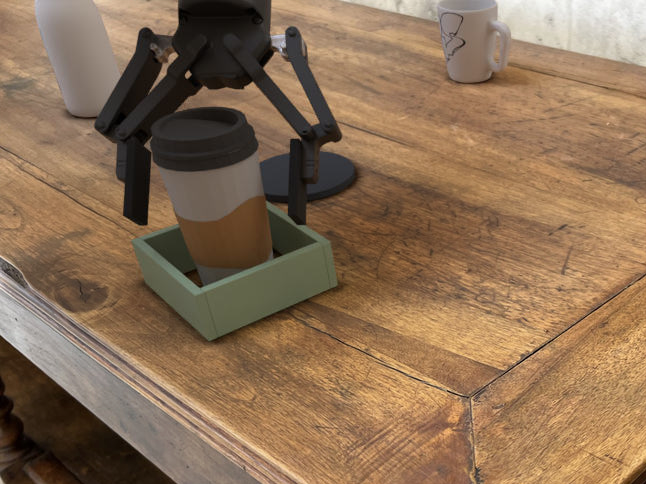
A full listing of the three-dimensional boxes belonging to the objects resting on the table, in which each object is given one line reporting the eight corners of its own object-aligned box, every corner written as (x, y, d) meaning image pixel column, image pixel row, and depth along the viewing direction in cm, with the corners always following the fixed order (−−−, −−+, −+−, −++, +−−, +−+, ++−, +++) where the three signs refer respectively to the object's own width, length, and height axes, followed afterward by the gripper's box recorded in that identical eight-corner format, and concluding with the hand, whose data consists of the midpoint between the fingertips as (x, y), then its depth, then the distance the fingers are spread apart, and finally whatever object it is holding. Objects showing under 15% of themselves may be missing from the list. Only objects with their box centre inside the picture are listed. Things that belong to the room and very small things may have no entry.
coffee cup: (241, 253, 77) (202, 98, 68) (307, 275, 74) (275, 115, 64) (173, 293, 72) (120, 130, 62) (241, 319, 68) (195, 151, 59)
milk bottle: (141, 104, 109) (91, -60, 97) (91, 122, 104) (32, -48, 92) (106, 95, 113) (53, -65, 100) (56, 111, 108) (-6, -55, 95)
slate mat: (227, 178, 91) (226, 171, 90) (318, 148, 97) (317, 142, 96) (282, 213, 84) (280, 206, 83) (375, 179, 90) (375, 172, 89)
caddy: (145, 283, 73) (130, 239, 70) (268, 237, 80) (258, 195, 77) (209, 341, 66) (194, 295, 63) (338, 285, 72) (330, 241, 70)
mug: (526, 77, 117) (527, 4, 110) (492, 94, 111) (490, 17, 105) (465, 63, 122) (462, -8, 116) (429, 78, 117) (424, 5, 110)
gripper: (378, 5, 72) (373, 233, 70) (107, 7, 73) (93, 234, 71) (361, -48, 65) (354, 205, 62) (58, -45, 65) (41, 206, 63)
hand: (215, 221), depth 66 cm, fingers open, 13 cm apart
